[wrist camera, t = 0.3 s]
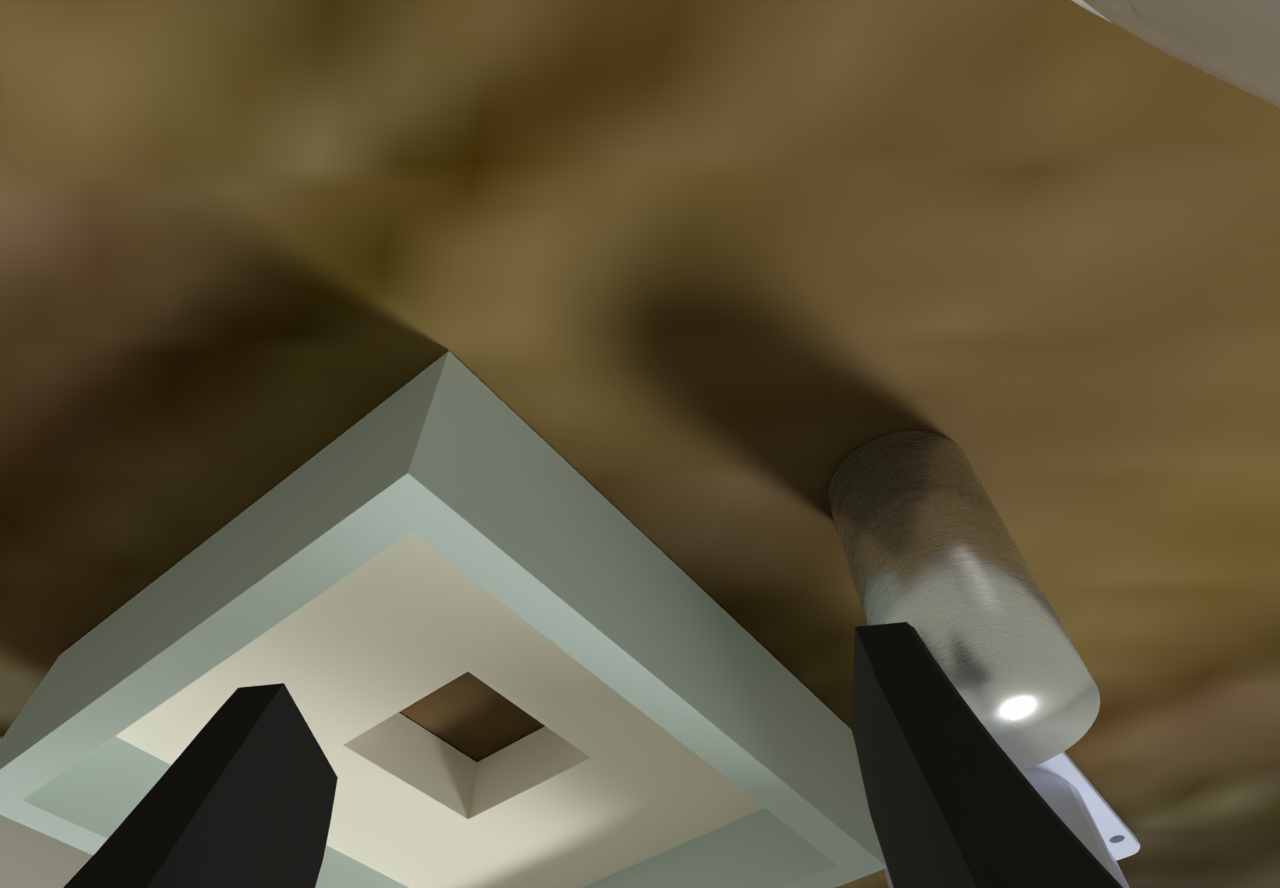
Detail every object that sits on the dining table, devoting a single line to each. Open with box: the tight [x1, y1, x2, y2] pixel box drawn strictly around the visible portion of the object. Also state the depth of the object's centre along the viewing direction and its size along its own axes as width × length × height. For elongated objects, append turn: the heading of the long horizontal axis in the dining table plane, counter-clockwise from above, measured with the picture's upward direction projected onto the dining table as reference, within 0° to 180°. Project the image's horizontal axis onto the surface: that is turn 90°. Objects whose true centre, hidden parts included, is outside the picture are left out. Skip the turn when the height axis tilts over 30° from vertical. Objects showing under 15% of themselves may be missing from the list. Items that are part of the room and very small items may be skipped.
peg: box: [828, 430, 1100, 770], centre depth 19 cm, size 4×4×7 cm
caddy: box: [0, 351, 887, 888], centre depth 24 cm, size 18×16×4 cm
